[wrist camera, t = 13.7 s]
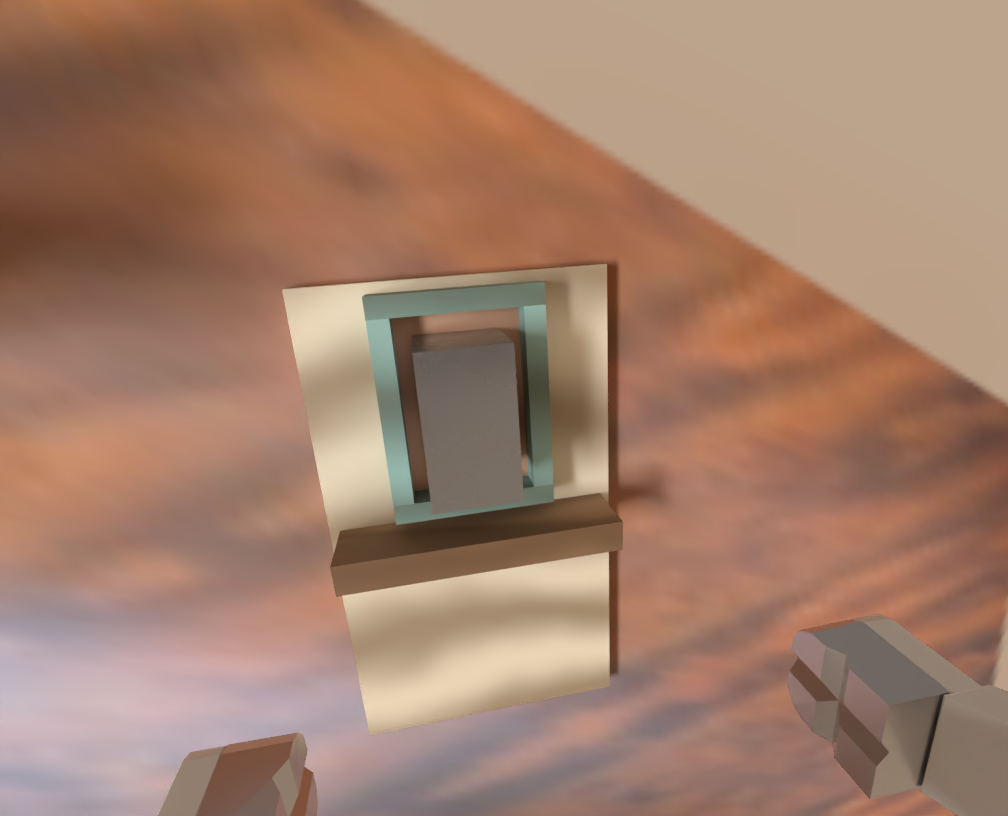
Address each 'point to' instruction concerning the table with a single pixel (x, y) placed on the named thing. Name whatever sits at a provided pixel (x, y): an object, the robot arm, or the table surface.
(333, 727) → the table surface
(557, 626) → the lock board
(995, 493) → the table surface
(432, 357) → the block
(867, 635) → the robot arm
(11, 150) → the table surface
